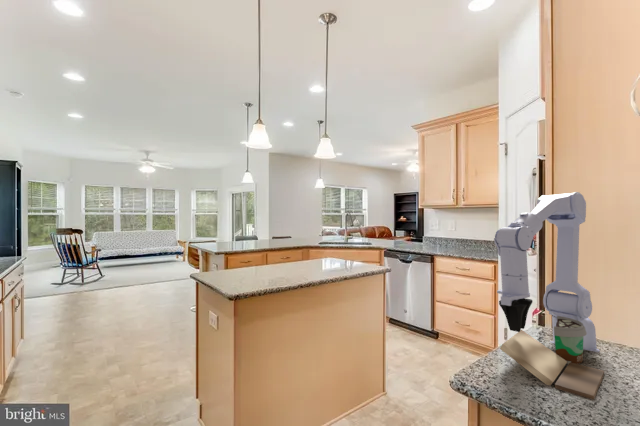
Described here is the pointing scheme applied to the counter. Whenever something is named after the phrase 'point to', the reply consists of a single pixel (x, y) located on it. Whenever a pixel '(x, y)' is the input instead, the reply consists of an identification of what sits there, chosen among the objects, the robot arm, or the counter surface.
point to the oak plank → (534, 357)
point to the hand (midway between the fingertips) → (517, 329)
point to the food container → (569, 339)
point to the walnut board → (580, 380)
